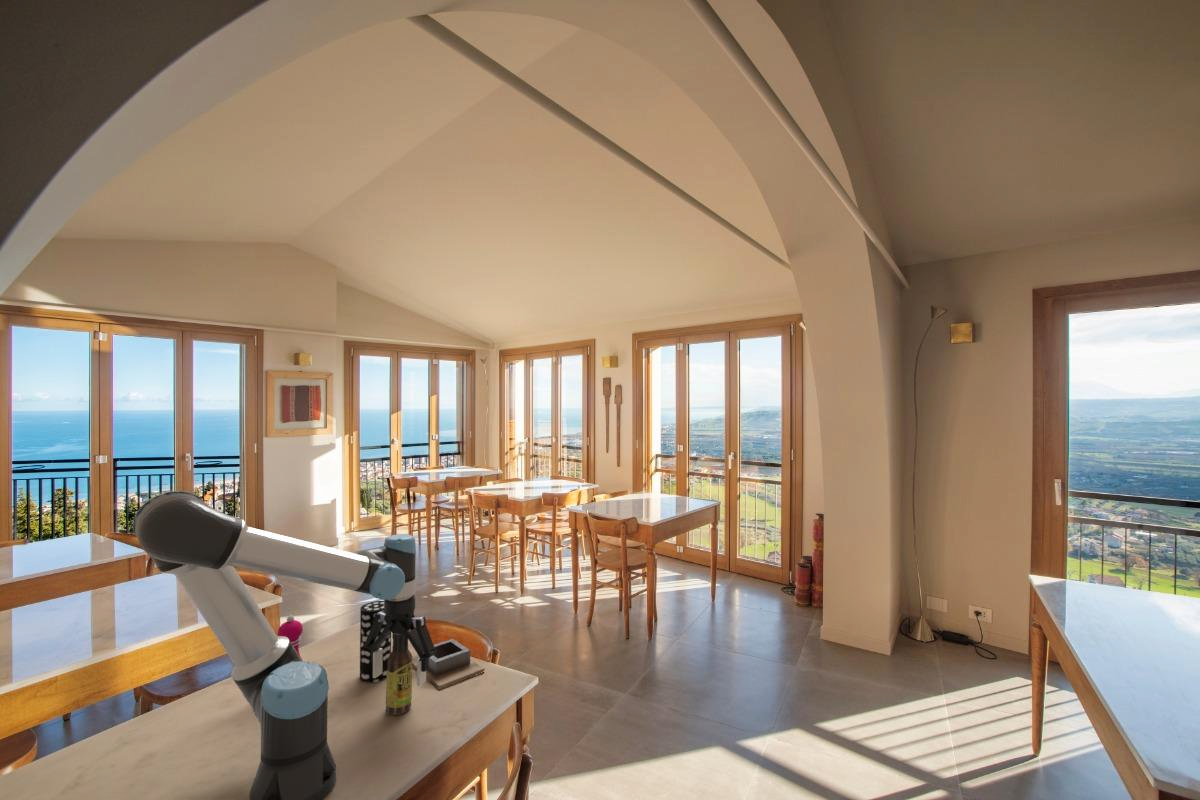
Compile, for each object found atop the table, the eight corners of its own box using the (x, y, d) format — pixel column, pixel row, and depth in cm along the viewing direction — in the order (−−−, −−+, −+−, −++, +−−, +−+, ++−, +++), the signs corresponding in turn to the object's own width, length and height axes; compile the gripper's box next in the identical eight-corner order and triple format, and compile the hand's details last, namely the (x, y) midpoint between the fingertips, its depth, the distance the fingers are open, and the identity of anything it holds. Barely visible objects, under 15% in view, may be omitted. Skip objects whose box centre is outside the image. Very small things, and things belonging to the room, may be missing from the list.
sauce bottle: (399, 719, 130) (399, 638, 130) (380, 713, 132) (380, 634, 133) (417, 705, 136) (417, 628, 136) (399, 700, 138) (399, 624, 139)
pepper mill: (290, 696, 140) (291, 621, 140) (267, 693, 142) (268, 619, 142) (310, 683, 147) (311, 611, 148) (288, 680, 149) (289, 609, 149)
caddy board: (484, 672, 153) (484, 668, 153) (439, 689, 144) (439, 685, 144) (448, 647, 169) (448, 644, 169) (406, 661, 160) (406, 658, 160)
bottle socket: (470, 663, 156) (470, 650, 156) (435, 676, 149) (435, 662, 149) (452, 651, 164) (452, 638, 164) (418, 663, 157) (419, 649, 157)
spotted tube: (359, 671, 153) (360, 603, 154) (390, 666, 157) (390, 599, 157) (359, 685, 146) (360, 613, 146) (391, 678, 149) (392, 608, 150)
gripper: (450, 596, 135) (449, 679, 134) (370, 586, 142) (369, 665, 141) (432, 606, 127) (432, 694, 127) (349, 596, 135) (349, 679, 134)
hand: (399, 679), depth 134 cm, fingers open, 13 cm apart
